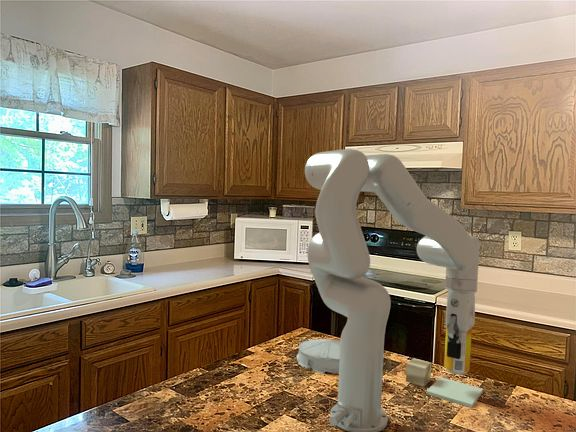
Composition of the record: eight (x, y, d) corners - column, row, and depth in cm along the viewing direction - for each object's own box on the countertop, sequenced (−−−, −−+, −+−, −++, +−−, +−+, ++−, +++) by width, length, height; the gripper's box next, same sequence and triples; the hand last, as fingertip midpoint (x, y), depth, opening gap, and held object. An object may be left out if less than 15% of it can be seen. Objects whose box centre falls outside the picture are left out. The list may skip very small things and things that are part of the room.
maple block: (424, 386, 116) (425, 368, 116) (405, 381, 119) (406, 363, 119) (430, 380, 120) (431, 362, 120) (412, 375, 123) (413, 358, 123)
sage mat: (471, 407, 105) (471, 404, 105) (426, 393, 112) (426, 390, 112) (482, 391, 114) (483, 388, 114) (440, 379, 121) (440, 377, 121)
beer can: (465, 366, 115) (468, 310, 114) (472, 376, 109) (475, 317, 108) (441, 365, 116) (444, 309, 115) (447, 374, 110) (450, 315, 109)
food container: (281, 363, 130) (282, 341, 129) (318, 344, 146) (319, 324, 145) (340, 383, 118) (341, 359, 117) (373, 360, 134) (374, 339, 133)
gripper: (467, 292, 102) (463, 368, 103) (485, 281, 116) (481, 347, 117) (435, 287, 107) (431, 360, 108) (455, 277, 120) (452, 341, 122)
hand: (457, 353), depth 112 cm, fingers closed on beer can, 6 cm apart
